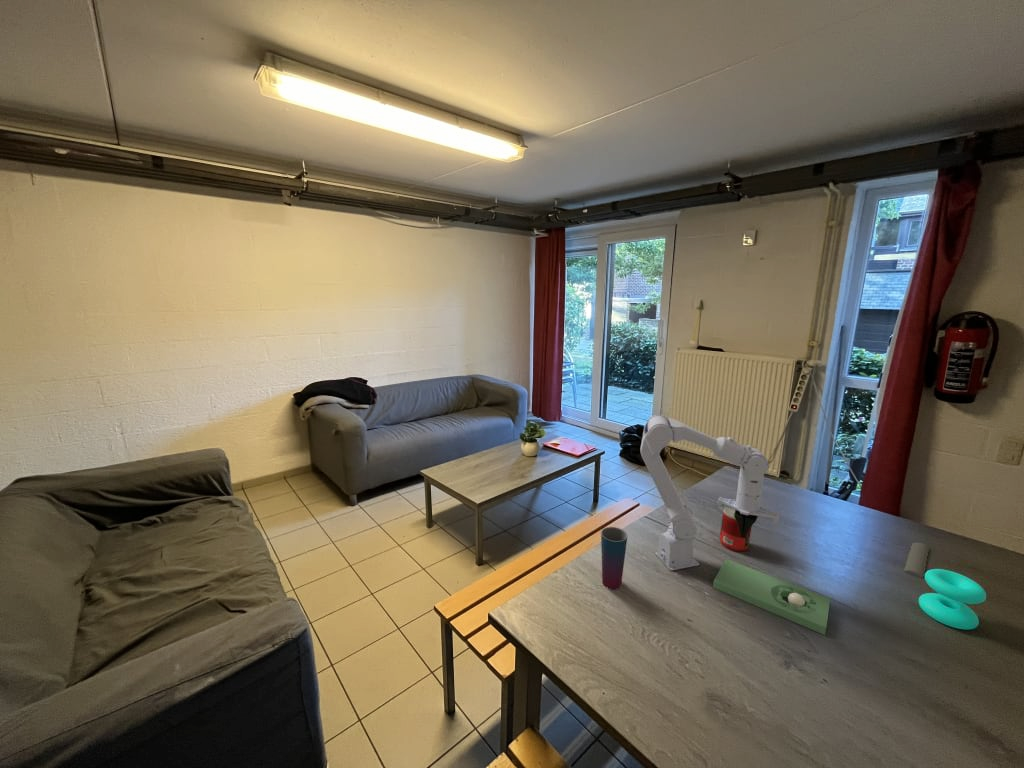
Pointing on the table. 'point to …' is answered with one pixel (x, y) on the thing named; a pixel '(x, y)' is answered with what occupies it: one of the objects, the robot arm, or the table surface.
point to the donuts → (952, 598)
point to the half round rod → (917, 559)
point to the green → (773, 595)
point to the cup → (613, 556)
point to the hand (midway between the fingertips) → (743, 536)
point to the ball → (796, 600)
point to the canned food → (732, 532)
